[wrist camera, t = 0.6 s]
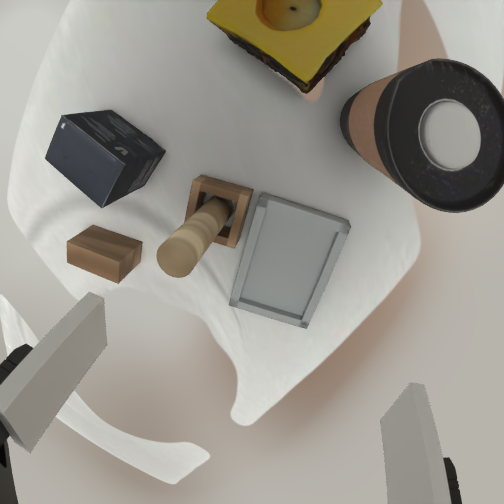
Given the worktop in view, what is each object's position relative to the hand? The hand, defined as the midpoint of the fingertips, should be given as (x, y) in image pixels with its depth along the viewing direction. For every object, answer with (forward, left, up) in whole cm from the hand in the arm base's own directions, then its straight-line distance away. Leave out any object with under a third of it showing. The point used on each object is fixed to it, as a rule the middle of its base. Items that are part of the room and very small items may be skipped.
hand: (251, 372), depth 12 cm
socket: (+3, -7, -25) cm, 26 cm away
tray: (+7, +2, -25) cm, 26 cm away
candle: (-18, -4, -25) cm, 31 cm away
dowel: (+3, -7, -25) cm, 26 cm away
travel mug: (-11, +6, -25) cm, 28 cm away
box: (-1, -20, -25) cm, 32 cm away
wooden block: (+12, -20, -25) cm, 34 cm away
